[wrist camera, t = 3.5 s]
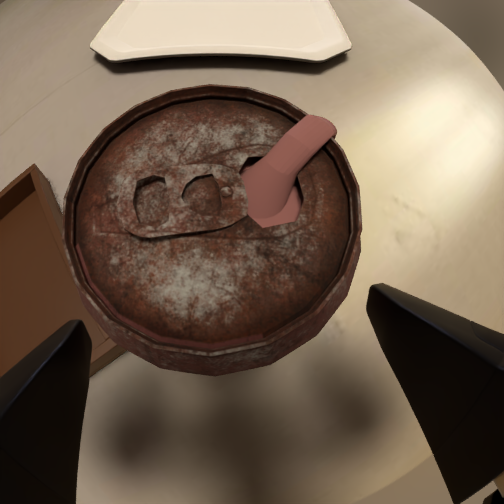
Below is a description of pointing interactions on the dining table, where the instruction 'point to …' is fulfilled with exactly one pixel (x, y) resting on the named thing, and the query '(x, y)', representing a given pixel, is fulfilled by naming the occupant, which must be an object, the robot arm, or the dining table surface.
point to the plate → (222, 30)
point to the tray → (38, 275)
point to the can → (213, 228)
